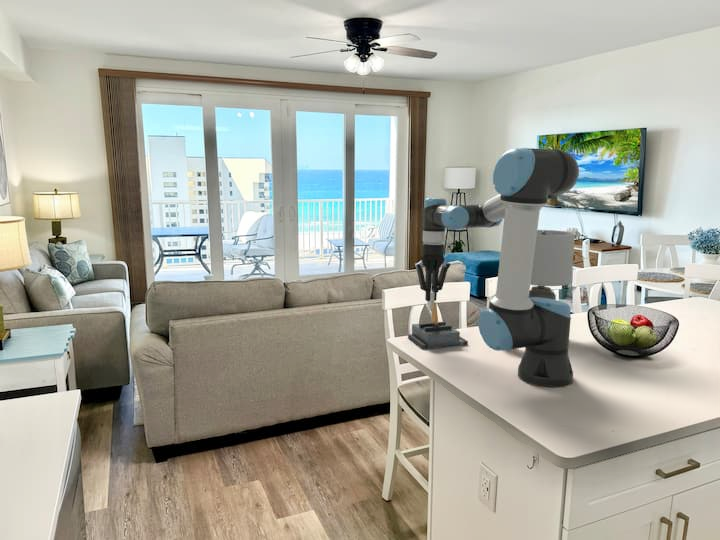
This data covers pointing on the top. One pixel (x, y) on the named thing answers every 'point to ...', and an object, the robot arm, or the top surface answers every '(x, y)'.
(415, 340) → the dark gray bar
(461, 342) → the gray slab
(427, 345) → the box
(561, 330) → the robot arm
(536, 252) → the lamp
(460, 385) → the top surface
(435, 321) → the lever
